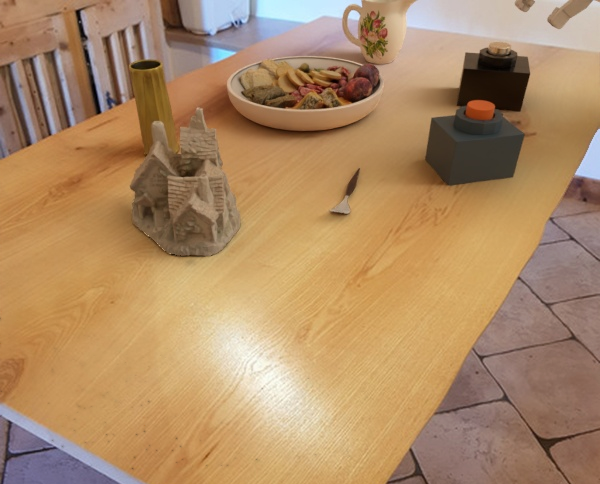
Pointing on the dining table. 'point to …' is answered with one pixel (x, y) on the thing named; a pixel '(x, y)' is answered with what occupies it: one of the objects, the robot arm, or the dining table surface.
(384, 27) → the pitcher
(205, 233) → the ceramic cottage
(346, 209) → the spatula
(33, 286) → the dining table surface
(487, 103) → the orange push button
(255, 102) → the bowl
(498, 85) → the base unit
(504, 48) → the power button
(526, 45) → the dining table surface
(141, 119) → the vase
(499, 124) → the button housing
